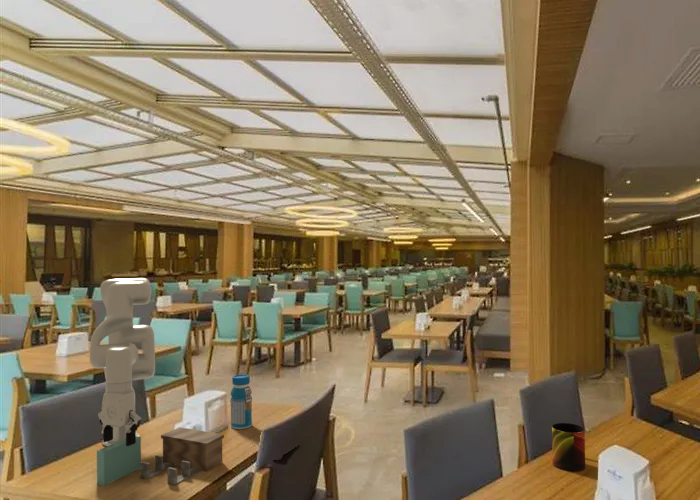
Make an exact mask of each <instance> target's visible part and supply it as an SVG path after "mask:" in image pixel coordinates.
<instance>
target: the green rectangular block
mask: <svg viewBox="0 0 700 500" xmlns="http://www.w3.org/2000/svg"><path fill="white" fill-rule="evenodd" d="M141 445H142V438H141V436H140V437H138V436H136V443H135V444H133V445H130V446H126V439H124V440H122V441H120V442H117V443H115V444H112V445H110V446H105V447H103V448H99V449H98V450H96V485H100V486H106V485H108V484H111V483H112V482H115V481H117V480H118V479H121V478H123V477H125V476H126V475H130V474H131V473H133V472H135V471H137V470H139V469H140V470H141V462H142V451H141V450H142V448H141V447H142V446H141Z"/></svg>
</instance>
